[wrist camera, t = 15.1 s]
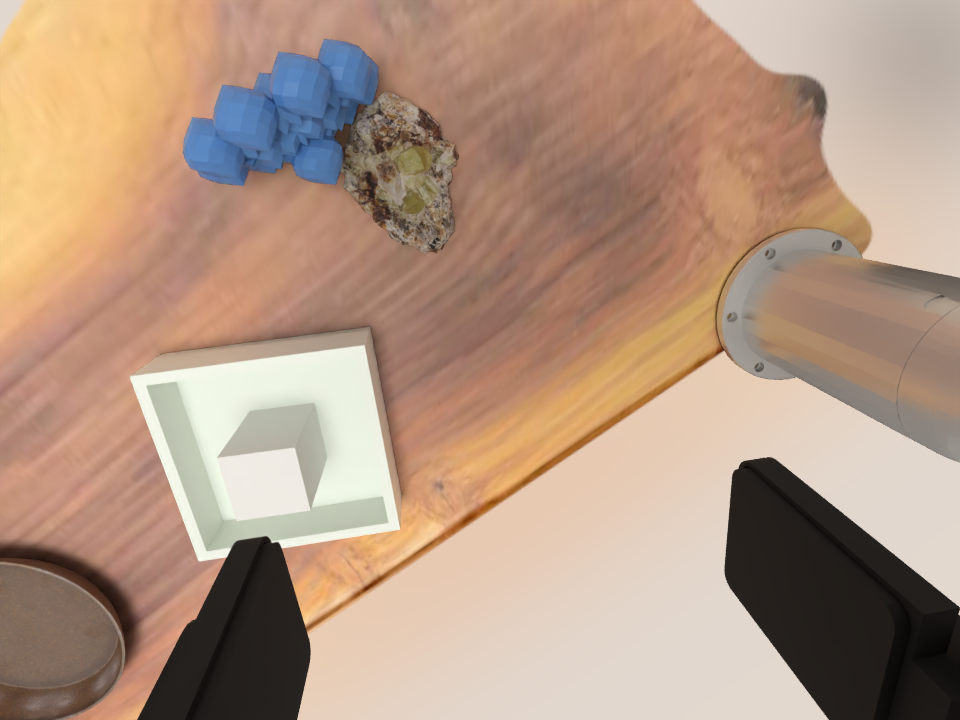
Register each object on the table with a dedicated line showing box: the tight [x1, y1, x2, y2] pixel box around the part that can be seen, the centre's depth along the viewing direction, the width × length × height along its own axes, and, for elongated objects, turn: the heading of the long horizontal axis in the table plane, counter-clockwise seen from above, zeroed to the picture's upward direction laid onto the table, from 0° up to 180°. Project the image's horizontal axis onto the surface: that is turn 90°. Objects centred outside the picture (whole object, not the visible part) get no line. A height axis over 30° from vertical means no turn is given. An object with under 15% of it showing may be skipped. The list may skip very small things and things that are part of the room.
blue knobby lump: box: [183, 39, 379, 186], centre depth 29 cm, size 12×7×12 cm, turn 122°
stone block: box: [217, 403, 327, 521], centre depth 38 cm, size 5×5×7 cm
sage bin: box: [130, 327, 402, 561], centre depth 40 cm, size 16×16×4 cm
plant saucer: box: [0, 558, 125, 720], centre depth 44 cm, size 18×18×3 cm
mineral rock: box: [341, 92, 459, 253], centre depth 35 cm, size 11×4×8 cm
